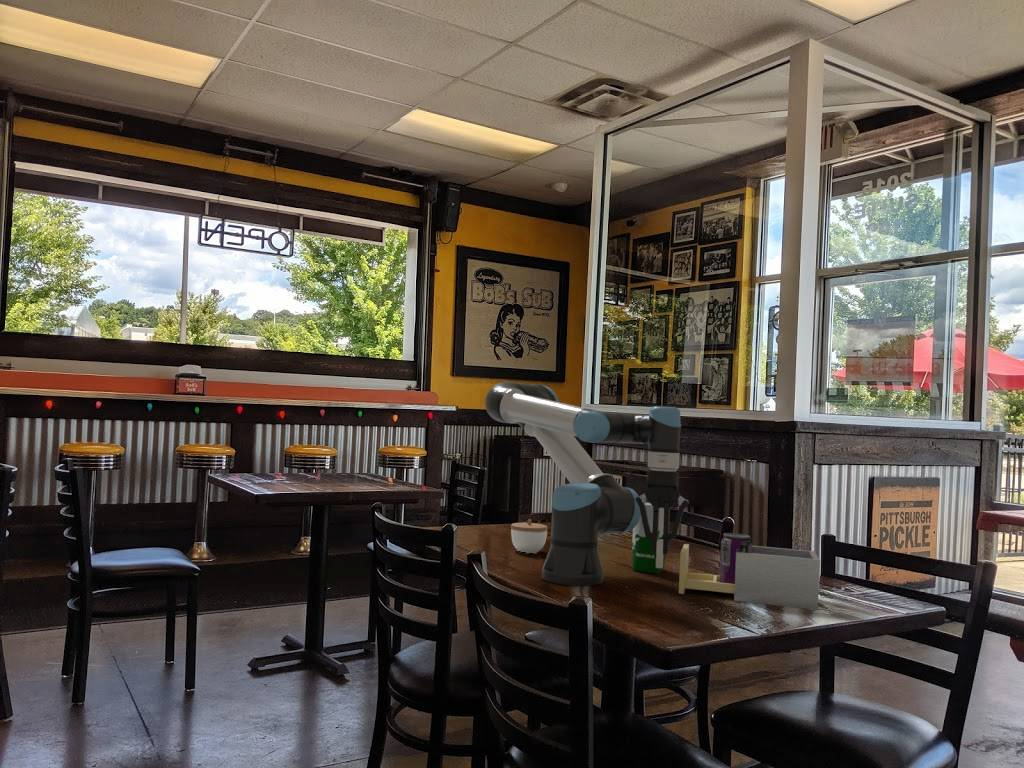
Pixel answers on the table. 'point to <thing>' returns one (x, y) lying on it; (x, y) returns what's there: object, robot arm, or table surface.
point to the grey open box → (777, 577)
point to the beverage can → (732, 554)
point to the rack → (699, 578)
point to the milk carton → (646, 543)
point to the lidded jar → (528, 536)
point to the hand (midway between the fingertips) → (659, 567)
